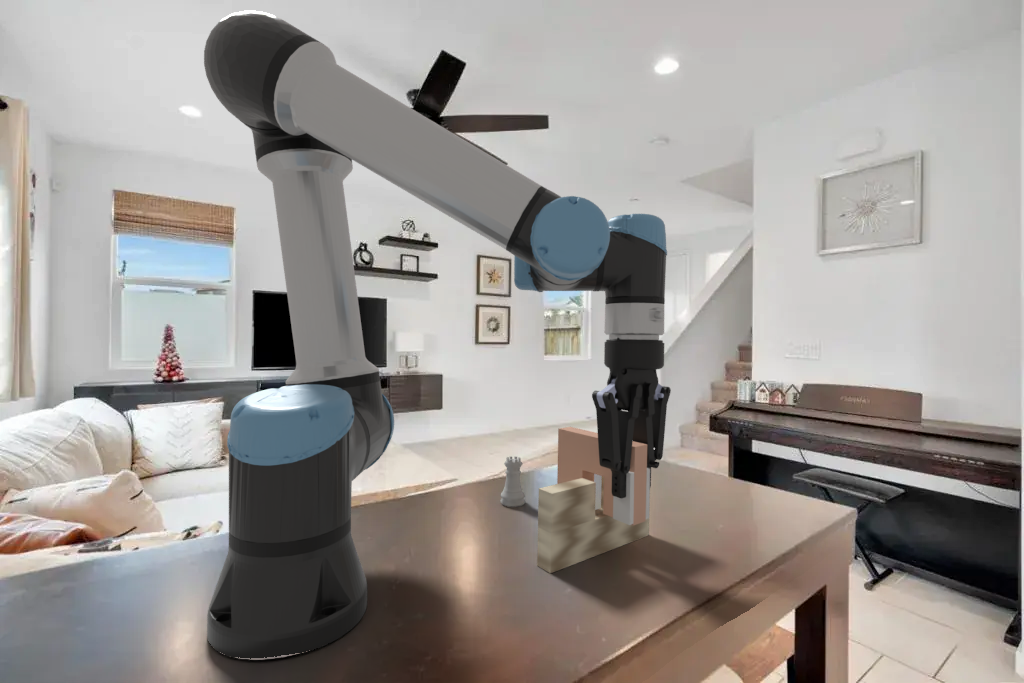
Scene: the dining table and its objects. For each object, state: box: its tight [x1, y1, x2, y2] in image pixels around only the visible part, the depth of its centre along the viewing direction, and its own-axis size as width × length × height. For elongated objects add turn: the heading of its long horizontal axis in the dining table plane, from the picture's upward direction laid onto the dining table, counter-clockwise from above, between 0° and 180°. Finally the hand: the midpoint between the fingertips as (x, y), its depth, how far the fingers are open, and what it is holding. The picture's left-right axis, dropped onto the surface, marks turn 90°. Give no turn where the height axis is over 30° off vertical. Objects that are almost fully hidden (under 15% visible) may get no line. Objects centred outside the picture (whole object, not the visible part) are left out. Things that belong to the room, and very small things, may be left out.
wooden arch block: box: [556, 426, 647, 526], centre depth 69 cm, size 14×2×10 cm, turn 38°
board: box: [536, 476, 651, 574], centre depth 69 cm, size 20×2×10 cm, turn 128°
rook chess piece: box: [499, 456, 526, 508], centre depth 87 cm, size 4×4×8 cm
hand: (631, 518), depth 65 cm, fingers closed on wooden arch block, 2 cm apart
